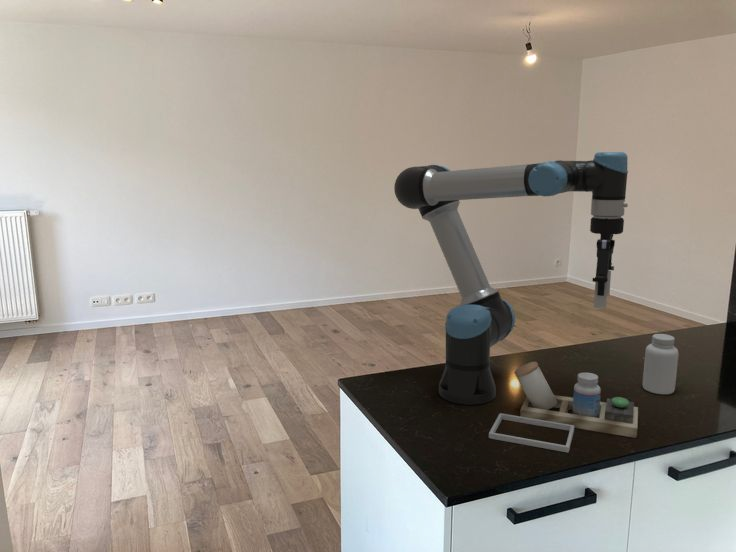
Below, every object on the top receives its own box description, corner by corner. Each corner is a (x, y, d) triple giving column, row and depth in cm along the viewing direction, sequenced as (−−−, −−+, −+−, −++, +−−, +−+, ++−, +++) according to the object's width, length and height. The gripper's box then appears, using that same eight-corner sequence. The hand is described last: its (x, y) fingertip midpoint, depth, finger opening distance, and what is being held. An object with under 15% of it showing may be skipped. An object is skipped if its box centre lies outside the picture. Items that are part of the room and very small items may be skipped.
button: (610, 413, 139) (611, 401, 139) (611, 406, 142) (612, 396, 142) (627, 415, 138) (628, 404, 137) (627, 409, 141) (628, 398, 140)
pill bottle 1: (601, 425, 140) (604, 381, 138) (574, 424, 141) (576, 379, 139) (596, 414, 146) (599, 371, 143) (570, 413, 147) (572, 370, 145)
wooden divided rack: (520, 418, 144) (520, 401, 143) (528, 399, 155) (529, 384, 154) (636, 438, 134) (638, 420, 133) (637, 416, 144) (638, 399, 143)
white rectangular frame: (488, 438, 135) (488, 433, 135) (499, 417, 145) (499, 413, 145) (568, 452, 128) (568, 447, 128) (574, 430, 138) (574, 425, 138)
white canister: (533, 415, 146) (512, 375, 146) (535, 406, 152) (515, 368, 152) (556, 406, 144) (535, 366, 144) (558, 397, 149) (537, 359, 149)
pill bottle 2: (677, 396, 155) (682, 342, 152) (643, 393, 158) (648, 339, 155) (672, 385, 162) (677, 333, 159) (640, 382, 165) (644, 330, 162)
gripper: (622, 223, 131) (615, 315, 135) (626, 212, 153) (620, 291, 158) (586, 222, 134) (581, 312, 139) (595, 211, 156) (590, 289, 161)
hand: (601, 301), depth 148 cm, fingers open, 13 cm apart
